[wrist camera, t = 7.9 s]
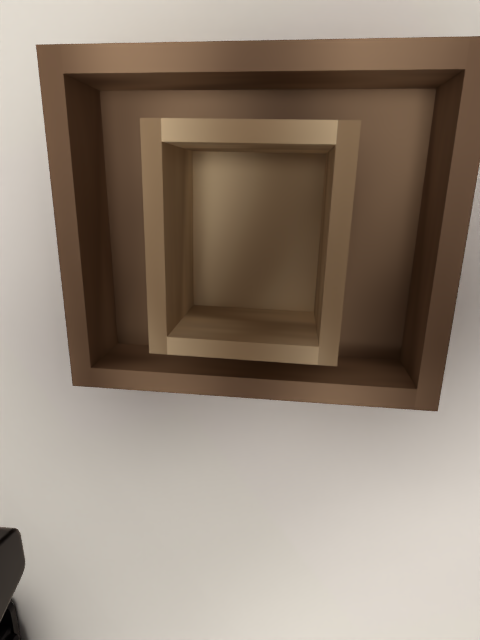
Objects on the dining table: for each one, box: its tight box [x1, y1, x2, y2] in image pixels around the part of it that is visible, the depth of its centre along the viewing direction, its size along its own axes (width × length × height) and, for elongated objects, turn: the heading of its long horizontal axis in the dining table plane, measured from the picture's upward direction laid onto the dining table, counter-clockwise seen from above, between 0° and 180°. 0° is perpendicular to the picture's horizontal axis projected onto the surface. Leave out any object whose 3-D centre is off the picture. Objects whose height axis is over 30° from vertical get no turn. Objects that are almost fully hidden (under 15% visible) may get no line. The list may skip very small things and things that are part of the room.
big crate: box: [36, 36, 480, 411], centre depth 16 cm, size 14×12×4 cm
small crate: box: [140, 118, 361, 366], centre depth 15 cm, size 6×7×4 cm
